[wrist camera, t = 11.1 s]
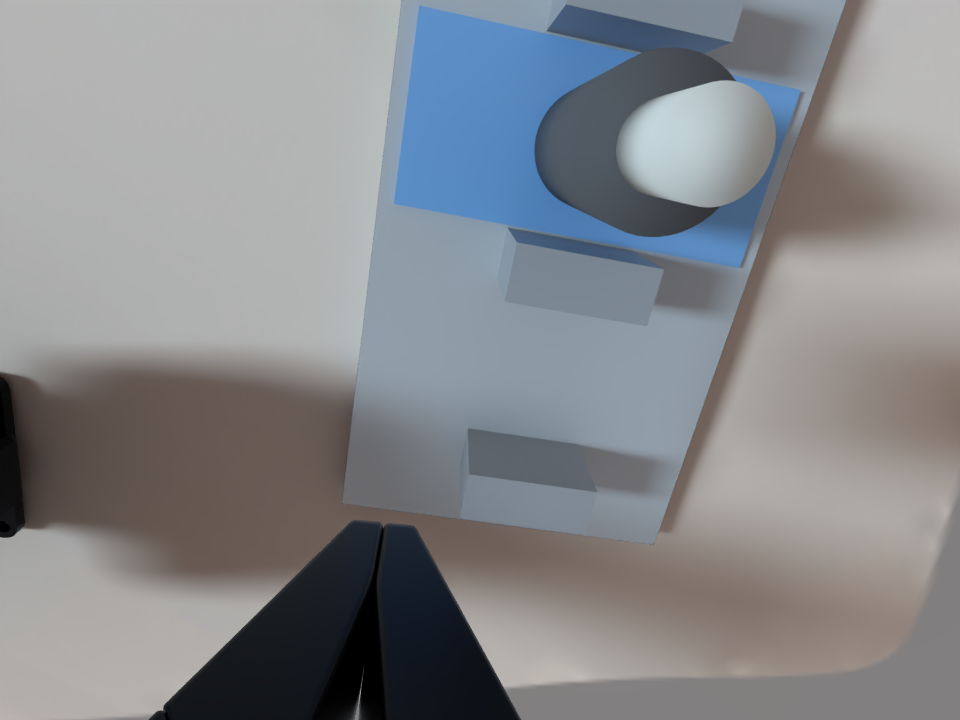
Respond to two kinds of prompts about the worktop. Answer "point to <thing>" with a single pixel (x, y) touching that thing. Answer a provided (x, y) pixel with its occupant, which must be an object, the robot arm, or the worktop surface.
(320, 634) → the robot arm
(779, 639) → the worktop surface
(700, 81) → the knob
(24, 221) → the worktop surface
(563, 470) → the lever switch plate
